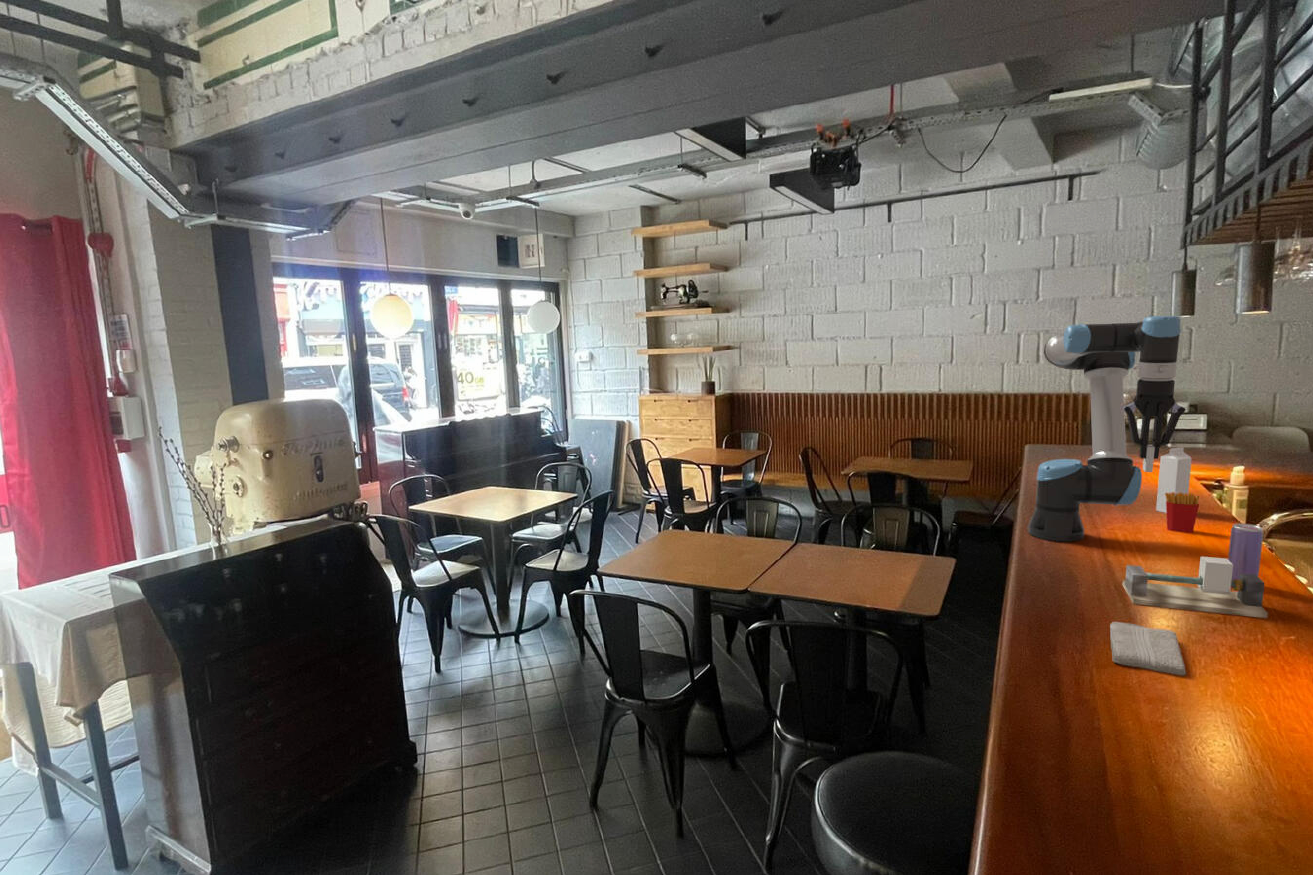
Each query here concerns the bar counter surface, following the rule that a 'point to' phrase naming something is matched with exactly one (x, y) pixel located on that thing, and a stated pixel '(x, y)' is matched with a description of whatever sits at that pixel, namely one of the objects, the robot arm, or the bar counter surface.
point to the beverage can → (1245, 549)
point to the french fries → (1181, 511)
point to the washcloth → (1146, 648)
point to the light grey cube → (1215, 575)
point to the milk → (1173, 475)
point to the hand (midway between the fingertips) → (1147, 470)
